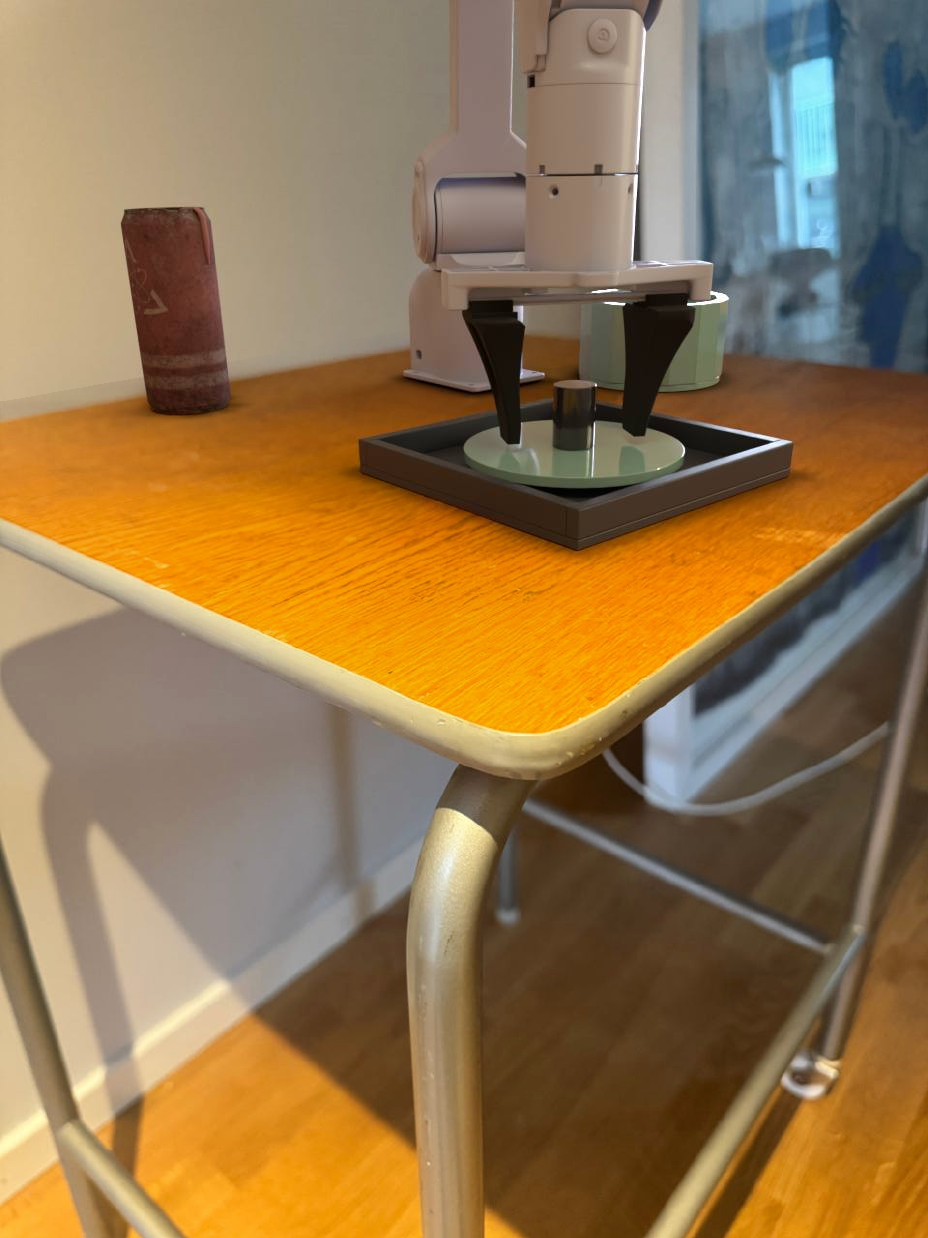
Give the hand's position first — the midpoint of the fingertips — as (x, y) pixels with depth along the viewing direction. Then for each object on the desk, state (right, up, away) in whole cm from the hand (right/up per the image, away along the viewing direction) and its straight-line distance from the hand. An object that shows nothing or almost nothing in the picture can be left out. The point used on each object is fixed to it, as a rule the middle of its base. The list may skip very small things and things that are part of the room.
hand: (572, 436), depth 56 cm
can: (-27, +6, +19) cm, 33 cm away
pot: (+9, +10, +26) cm, 29 cm away
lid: (0, -1, 0) cm, 1 cm away
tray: (0, -2, +1) cm, 2 cm away
